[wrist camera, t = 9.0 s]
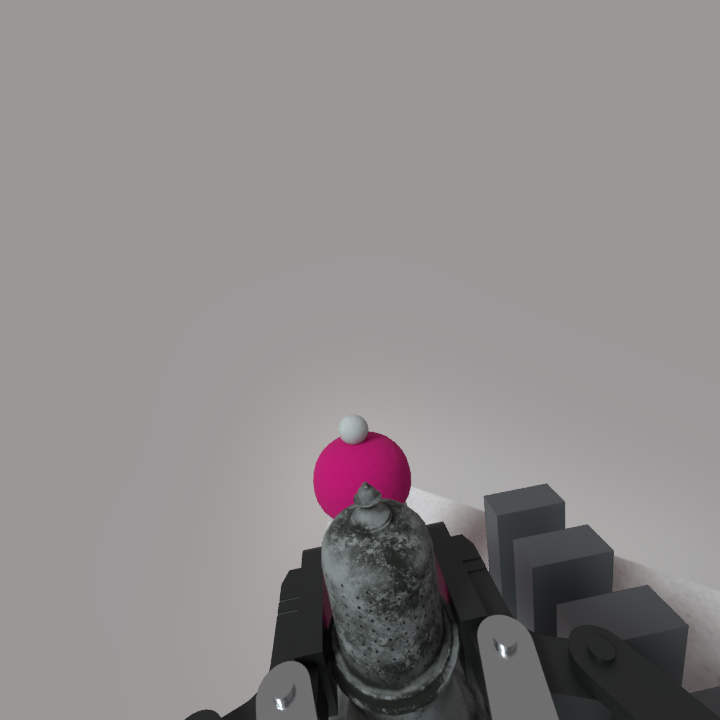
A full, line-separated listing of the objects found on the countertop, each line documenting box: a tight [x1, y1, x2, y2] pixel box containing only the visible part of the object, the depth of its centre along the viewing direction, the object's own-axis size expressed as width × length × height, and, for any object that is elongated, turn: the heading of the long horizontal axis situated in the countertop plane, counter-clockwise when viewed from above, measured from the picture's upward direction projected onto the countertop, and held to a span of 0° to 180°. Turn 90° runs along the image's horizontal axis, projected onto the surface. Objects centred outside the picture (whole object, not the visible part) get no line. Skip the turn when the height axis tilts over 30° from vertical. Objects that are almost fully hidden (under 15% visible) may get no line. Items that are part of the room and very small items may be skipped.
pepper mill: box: [313, 415, 411, 524], centre depth 24 cm, size 7×7×20 cm
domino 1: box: [484, 484, 565, 620], centre depth 28 cm, size 2×5×10 cm, turn 95°
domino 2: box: [513, 525, 614, 637], centre depth 23 cm, size 2×5×10 cm, turn 95°
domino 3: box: [557, 585, 689, 686], centre depth 19 cm, size 2×5×10 cm, turn 95°
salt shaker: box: [321, 482, 486, 720], centre depth 10 cm, size 6×6×12 cm
